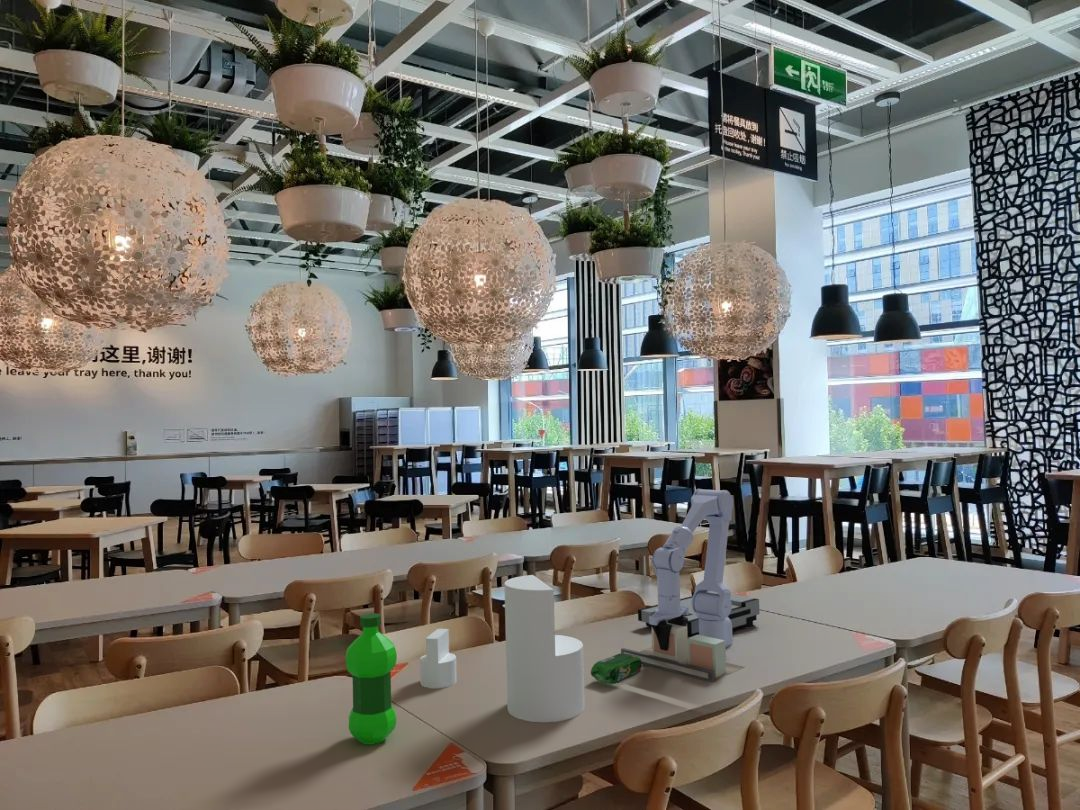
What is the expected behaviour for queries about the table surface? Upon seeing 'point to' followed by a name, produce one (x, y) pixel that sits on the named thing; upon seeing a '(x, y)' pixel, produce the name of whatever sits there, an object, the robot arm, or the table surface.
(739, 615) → the game console
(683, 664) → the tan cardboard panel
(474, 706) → the table surface
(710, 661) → the sage carton
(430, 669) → the white stepped half-round block
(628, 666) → the snack package
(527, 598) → the white stepped round block
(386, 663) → the plastic bottle
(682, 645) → the cream carton
